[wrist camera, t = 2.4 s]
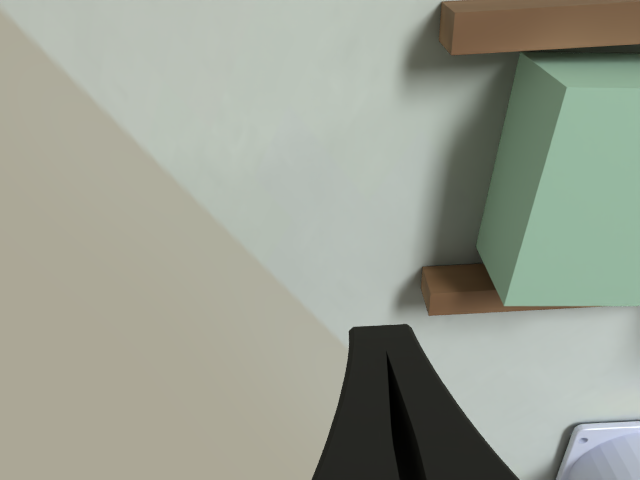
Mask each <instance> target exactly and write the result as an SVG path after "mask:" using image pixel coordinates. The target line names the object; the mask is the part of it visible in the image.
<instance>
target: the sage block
mask: <svg viewBox="0 0 640 480" xmlns="http://www.w3.org/2000/svg"><path fill="white" fill-rule="evenodd" d="M476 248H477V250H478V252H479V254H480V256H481V259H482V261H483V263H484V265H485V267H486V269H487V271H488V273H489V275H490V278H491V280H492V282H493V284H494V286H495V288H496V290H497V292H498V294H499V297H500V299H501V301H502V303H503V305H504V306H639V305H640V54H629V53H562V52H520V55H519V60H518V64H517V69H516V73H515V77H514V82H513V86H512V90H511V95H510V99H509V103H508V108H507V112H506V117H505V121H504V125H503V130H502V134H501V138H500V143H499V147H498V152H497V156H496V160H495V165H494V169H493V173H492V178H491V182H490V187H489V191H488V195H487V200H486V204H485V208H484V213H483V217H482V221H481V226H480V230H479V235H478V239H477V243H476Z"/></svg>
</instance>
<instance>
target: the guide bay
mask: <svg viewBox="0 0 640 480" xmlns="http://www.w3.org/2000/svg"><path fill="white" fill-rule="evenodd" d="M439 42H440V43H441V44H442V45H443V46H444V47H445V49H446V50H447V51H448V52H449V53H450V54H451V55H465V54H481V53H498V52H514V51H531V50H548V49H564V48H581V47H598V46H614V45H631V44H640V0H461V1H444V2H442V4H441V18H440V31H439ZM421 290H422V294H423V297H424V301H425V304H426V308H427V311H428V315H429V316H433V315H452V314H470V313H489V312H508V311H526V310H545V309H563V308H582V307H601V306H504V305H503V303H502V301H501V299H500V297H499V294H498V292H497V290H496V288H495V286H494V284H493V282H492V280H491V278H490V275H489V273H488V271H487V269H486V267H485V265H484V263H483V264H465V265H446V266H428V267H422V280H421Z"/></svg>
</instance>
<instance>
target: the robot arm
mask: <svg viewBox="0 0 640 480" xmlns="http://www.w3.org/2000/svg"><path fill="white" fill-rule="evenodd" d="M312 480H519V479H518V477H517V476H516V475H515V474H514V473H513V472H512V471H511V470H510V469H509V467H508V466H507V465H506V464H505V463H504V462H503V461H502V460H501V458H500V457H499V456H498V455H497V454H496V453H495V451H494V450H493V449H492V448H491V447H490V445H489V444H488V443H487V442H486V441H485V439H484V438H483V437H482V436H481V434H480V433H479V432H478V431H477V429H476V428H475V427H474V425H473V424H472V423H471V421H470V420H469V419H468V418H467V416H466V415H465V414H464V412H463V411H462V409H461V408H460V407H459V405H458V404H457V402H456V401H455V400H454V398H453V397H452V395H451V394H450V392H449V391H448V389H447V388H446V386H445V385H444V384H443V382H442V381H441V379H440V377H439V376H438V374H437V373H436V371H435V370H434V368H433V366H432V365H431V363H430V361H429V360H428V358H427V356H426V355H425V353H424V351H423V349H422V348H421V346H420V344H419V342H418V340H417V338H416V336H415V334H414V332H413V330H412V328H411V327H410V326H409V325H407V324H400V325H381V326H362V327H353V328H352V329H351V330H349V353H348V361H347V367H346V372H345V377H344V382H343V386H342V390H341V394H340V398H339V403H338V406H337V410H336V413H335V416H334V419H333V422H332V426H331V429H330V432H329V435H328V438H327V441H326V444H325V447H324V450H323V452H322V455H321V457H320V460H319V463H318V465H317V468H316V470H315V473H314V475H313V478H312ZM556 480H640V421H630V422H610V423H591V424H580V425H578V426H576V427H575V428H574V430H573V433H572V435H571V438H570V441H569V444H568V447H567V450H566V452H565V455H564V458H563V461H562V464H561V466H560V469H559V472H558V475H557V478H556Z"/></svg>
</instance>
